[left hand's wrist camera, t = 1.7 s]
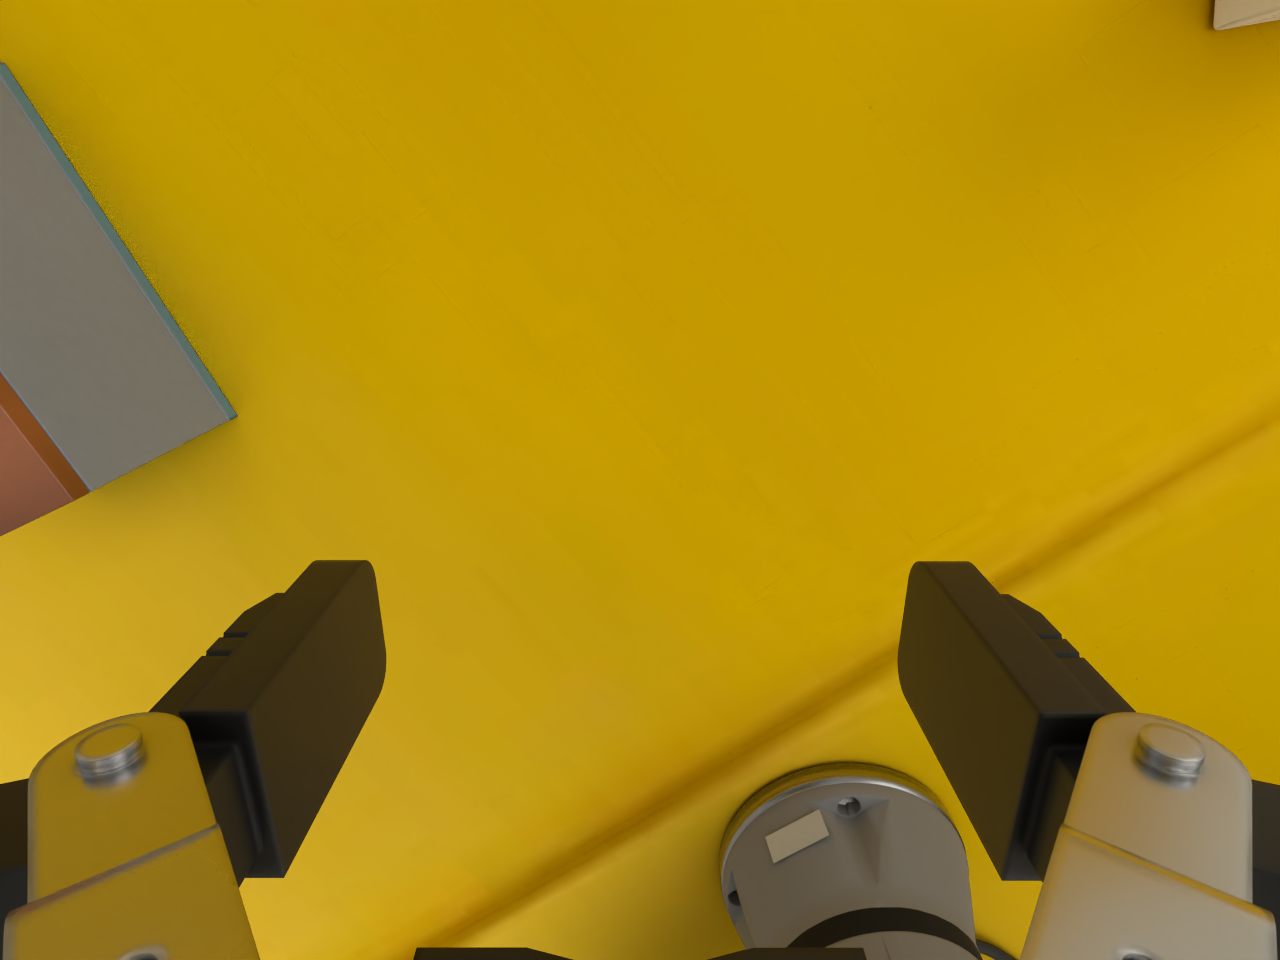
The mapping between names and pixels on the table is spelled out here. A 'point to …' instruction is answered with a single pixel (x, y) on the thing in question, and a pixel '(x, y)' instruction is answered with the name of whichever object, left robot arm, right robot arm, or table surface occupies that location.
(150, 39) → the table surface
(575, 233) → the table surface
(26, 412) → the lid
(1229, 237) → the table surface
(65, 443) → the chest
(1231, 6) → the ink box
